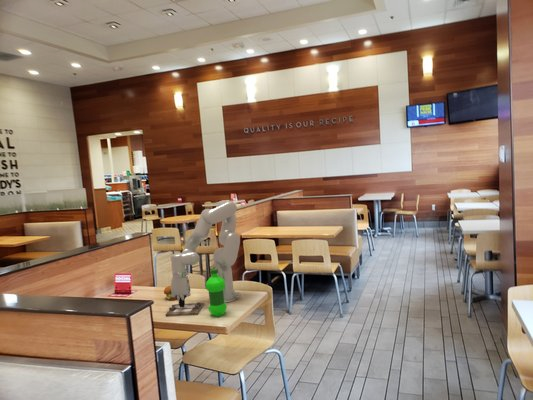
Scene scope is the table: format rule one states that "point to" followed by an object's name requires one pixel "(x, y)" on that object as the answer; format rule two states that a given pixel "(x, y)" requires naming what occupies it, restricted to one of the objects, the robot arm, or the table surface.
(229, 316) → the table surface
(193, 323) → the table surface
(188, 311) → the ticket board
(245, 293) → the table surface
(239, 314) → the table surface
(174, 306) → the hold down bar
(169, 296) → the cheeseburger
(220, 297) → the plastic bottle
